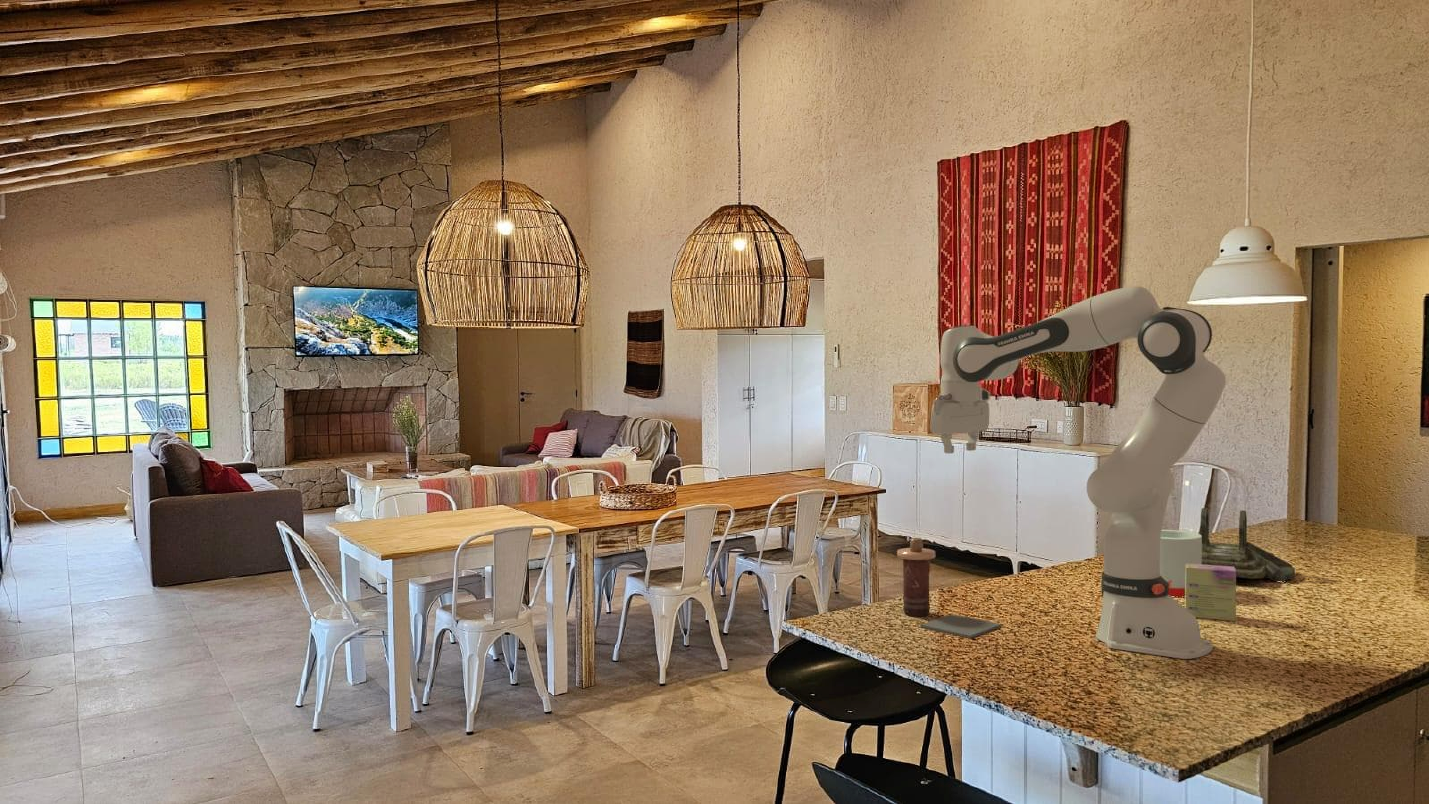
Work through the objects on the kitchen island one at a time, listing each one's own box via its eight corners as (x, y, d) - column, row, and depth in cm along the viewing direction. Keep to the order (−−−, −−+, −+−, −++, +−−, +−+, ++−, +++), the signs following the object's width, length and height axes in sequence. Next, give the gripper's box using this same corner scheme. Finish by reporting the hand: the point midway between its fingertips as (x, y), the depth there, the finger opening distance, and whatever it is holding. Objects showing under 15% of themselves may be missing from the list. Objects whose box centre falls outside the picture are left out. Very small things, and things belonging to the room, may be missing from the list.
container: (1138, 594, 243) (1138, 538, 243) (1135, 581, 258) (1134, 528, 258) (1208, 599, 238) (1208, 541, 237) (1200, 585, 252) (1200, 530, 252)
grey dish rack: (1170, 556, 292) (1170, 498, 291) (1298, 568, 273) (1298, 505, 272) (1147, 577, 263) (1147, 513, 263) (1288, 592, 244) (1288, 522, 243)
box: (1234, 615, 222) (1234, 565, 221) (1236, 621, 216) (1236, 570, 216) (1184, 611, 226) (1184, 562, 225) (1185, 617, 221) (1185, 567, 220)
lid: (942, 555, 228) (942, 538, 228) (921, 561, 222) (921, 543, 221) (911, 551, 234) (910, 534, 234) (889, 556, 228) (889, 539, 228)
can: (930, 617, 225) (930, 559, 224) (903, 616, 226) (903, 558, 225) (930, 611, 231) (929, 554, 230) (903, 610, 232) (903, 553, 231)
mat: (1001, 626, 216) (1001, 624, 216) (970, 638, 207) (970, 635, 207) (952, 616, 225) (952, 614, 225) (920, 627, 216) (920, 624, 216)
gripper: (946, 395, 216) (947, 455, 217) (993, 392, 230) (994, 449, 230) (923, 395, 221) (923, 454, 221) (971, 392, 235) (971, 448, 235)
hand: (960, 451), depth 226 cm, fingers open, 8 cm apart
